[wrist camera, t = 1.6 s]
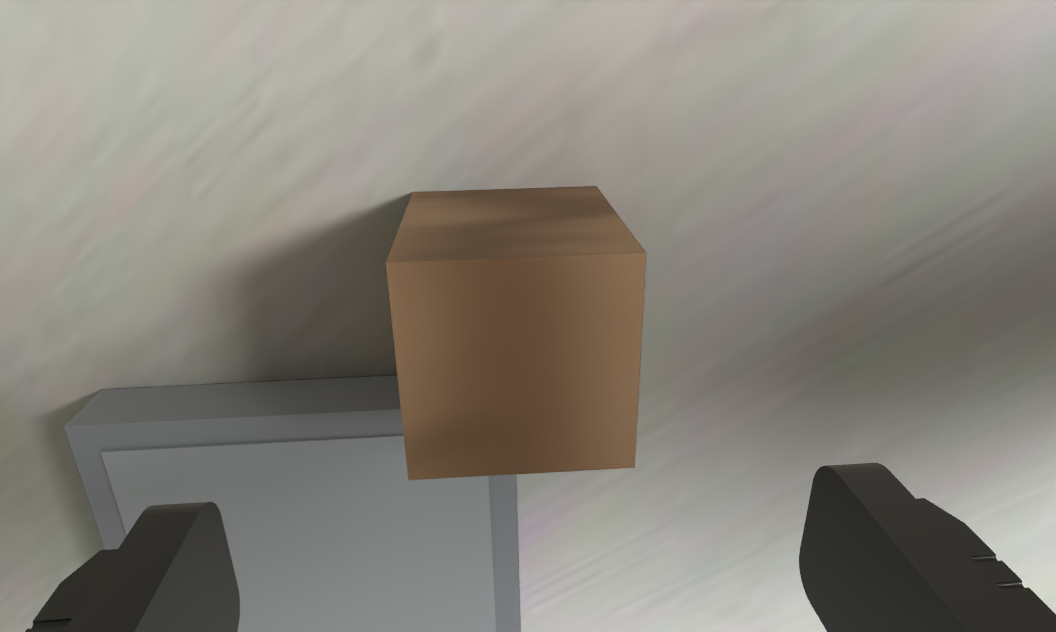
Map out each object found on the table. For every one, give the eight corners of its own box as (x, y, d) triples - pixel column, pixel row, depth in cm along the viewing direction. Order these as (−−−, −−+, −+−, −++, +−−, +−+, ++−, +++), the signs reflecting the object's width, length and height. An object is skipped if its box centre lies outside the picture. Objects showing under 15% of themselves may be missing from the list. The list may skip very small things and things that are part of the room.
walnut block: (595, 185, 19) (646, 253, 13) (592, 349, 21) (634, 467, 15) (412, 191, 18) (385, 262, 13) (426, 357, 20) (408, 480, 15)
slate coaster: (510, 369, 21) (514, 405, 19) (519, 655, 25) (523, 707, 23) (101, 389, 20) (61, 428, 18) (188, 679, 25) (164, 735, 23)
